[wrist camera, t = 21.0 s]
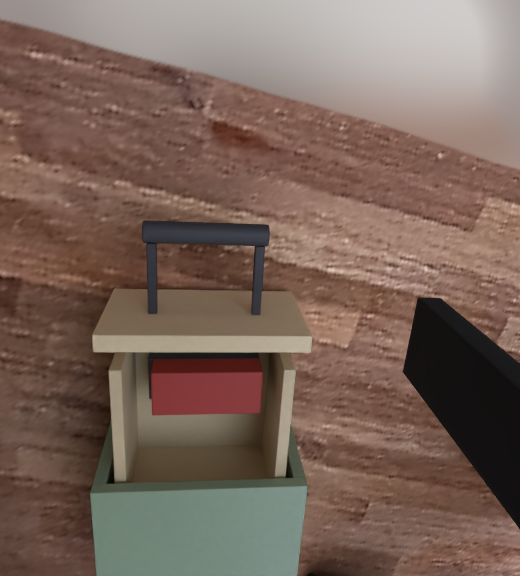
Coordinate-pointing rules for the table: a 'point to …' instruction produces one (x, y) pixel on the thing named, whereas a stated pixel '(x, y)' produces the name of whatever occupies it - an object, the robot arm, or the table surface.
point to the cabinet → (198, 523)
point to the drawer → (200, 338)
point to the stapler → (205, 383)
